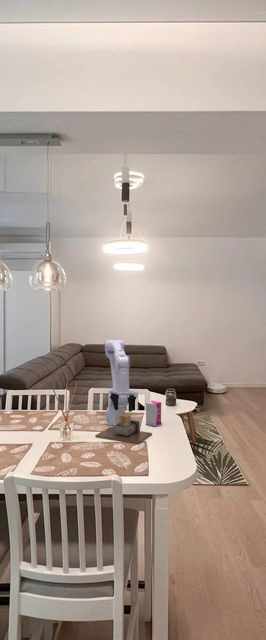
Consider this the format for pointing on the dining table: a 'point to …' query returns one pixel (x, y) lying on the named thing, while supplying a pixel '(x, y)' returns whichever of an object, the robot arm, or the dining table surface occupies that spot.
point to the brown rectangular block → (125, 420)
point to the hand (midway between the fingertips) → (123, 410)
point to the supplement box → (153, 413)
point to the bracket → (125, 433)
